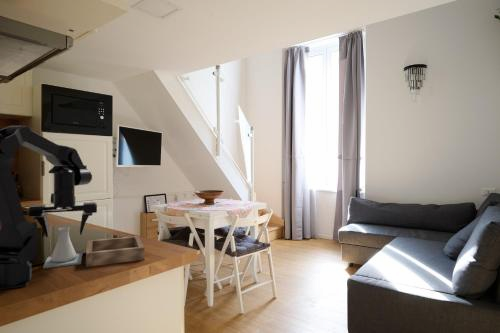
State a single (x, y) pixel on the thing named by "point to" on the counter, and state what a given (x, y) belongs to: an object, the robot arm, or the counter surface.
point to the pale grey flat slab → (56, 264)
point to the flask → (63, 247)
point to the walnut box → (114, 250)
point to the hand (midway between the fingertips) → (64, 235)
